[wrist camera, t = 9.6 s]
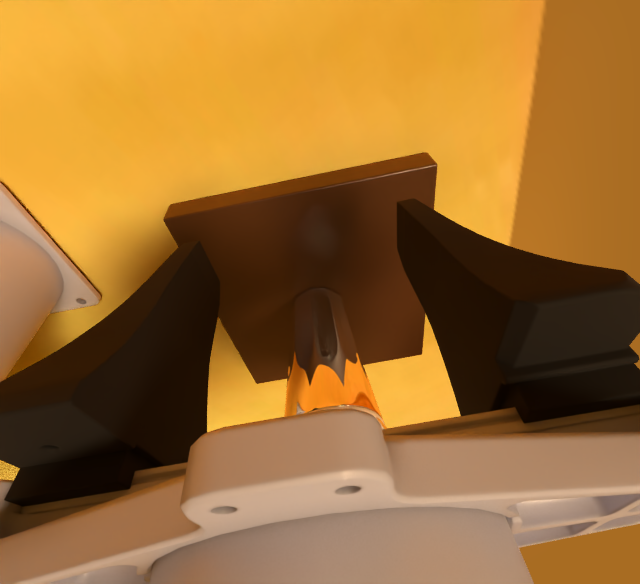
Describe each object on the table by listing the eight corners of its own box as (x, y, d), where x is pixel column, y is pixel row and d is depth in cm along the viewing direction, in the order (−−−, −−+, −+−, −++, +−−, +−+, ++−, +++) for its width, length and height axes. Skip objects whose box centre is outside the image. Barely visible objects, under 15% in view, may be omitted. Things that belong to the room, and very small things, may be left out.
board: (257, 368, 27) (256, 384, 26) (169, 203, 17) (162, 219, 16) (416, 339, 27) (422, 354, 25) (427, 151, 16) (438, 164, 15)
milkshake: (378, 303, 21) (432, 475, 14) (309, 339, 23) (324, 507, 16) (340, 258, 18) (383, 443, 11) (265, 302, 20) (259, 487, 13)
